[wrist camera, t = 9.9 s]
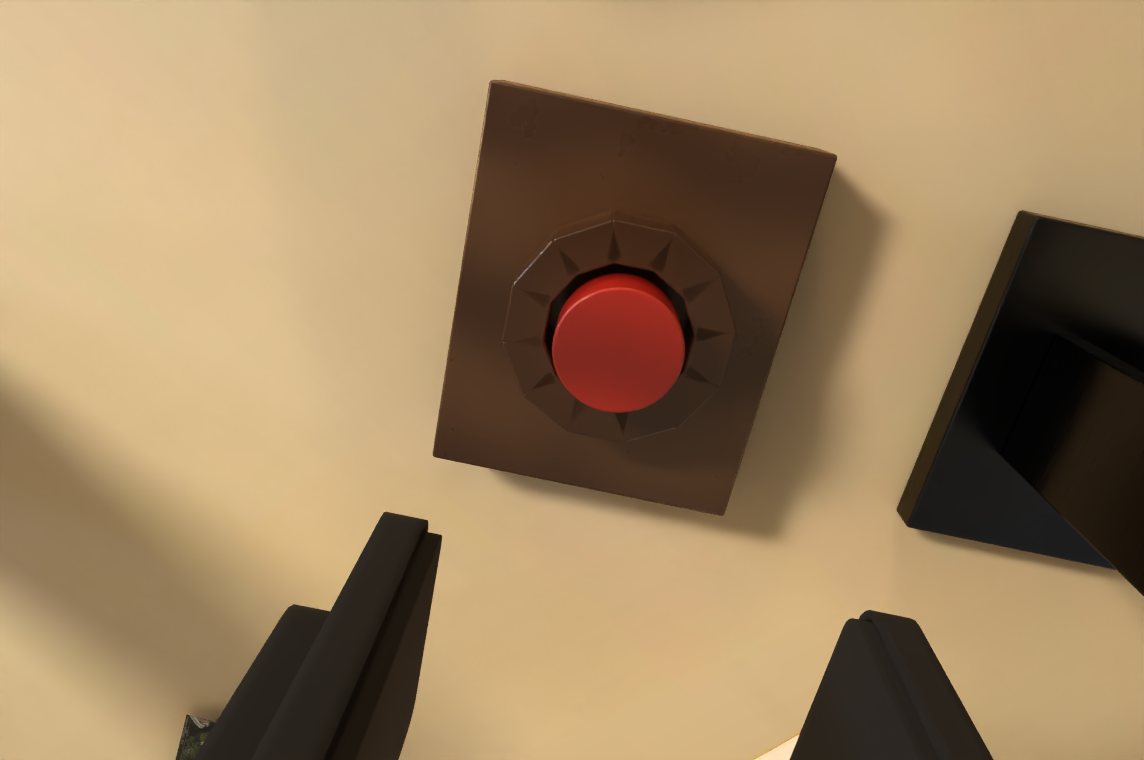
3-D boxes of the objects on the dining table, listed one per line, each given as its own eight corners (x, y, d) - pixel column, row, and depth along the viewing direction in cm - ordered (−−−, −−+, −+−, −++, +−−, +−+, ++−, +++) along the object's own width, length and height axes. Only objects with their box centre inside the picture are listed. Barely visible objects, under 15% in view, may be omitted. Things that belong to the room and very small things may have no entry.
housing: (500, 79, 24) (479, 79, 20) (820, 148, 24) (857, 161, 20) (445, 429, 28) (418, 483, 24) (716, 486, 28) (731, 547, 25)
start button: (569, 260, 22) (565, 274, 20) (694, 286, 22) (700, 303, 20) (545, 377, 23) (540, 399, 22) (663, 401, 23) (667, 425, 22)
